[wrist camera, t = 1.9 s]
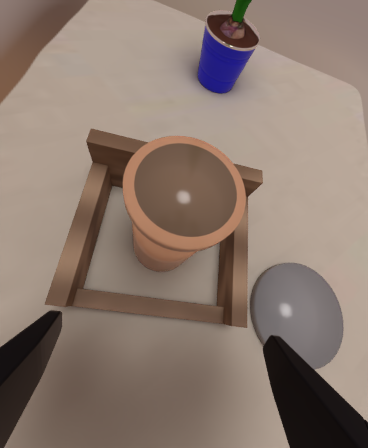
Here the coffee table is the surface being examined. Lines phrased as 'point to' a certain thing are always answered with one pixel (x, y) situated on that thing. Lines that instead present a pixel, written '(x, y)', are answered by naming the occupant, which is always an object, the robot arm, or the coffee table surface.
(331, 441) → the robot arm
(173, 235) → the pot
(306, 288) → the saucer
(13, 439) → the coffee table surface
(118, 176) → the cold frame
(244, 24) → the hyacinth
